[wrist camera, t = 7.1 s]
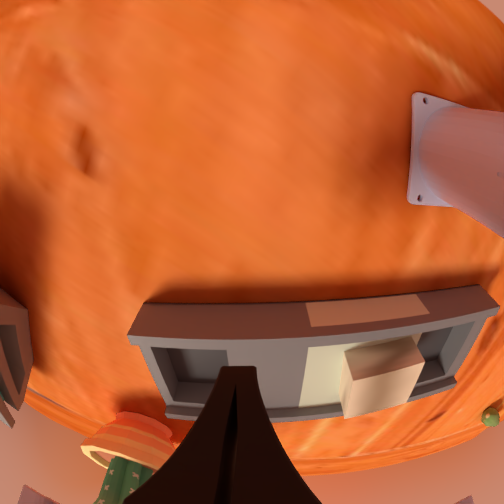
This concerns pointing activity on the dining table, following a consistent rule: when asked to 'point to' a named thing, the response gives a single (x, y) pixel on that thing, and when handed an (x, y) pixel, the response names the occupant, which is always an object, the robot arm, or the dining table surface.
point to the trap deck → (303, 345)
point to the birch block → (379, 376)
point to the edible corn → (490, 417)
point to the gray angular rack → (13, 355)
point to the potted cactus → (128, 453)
